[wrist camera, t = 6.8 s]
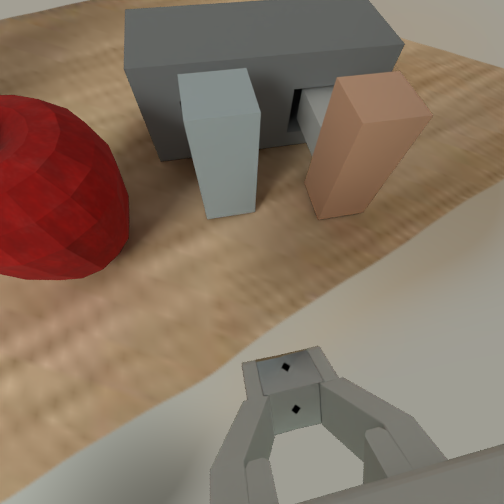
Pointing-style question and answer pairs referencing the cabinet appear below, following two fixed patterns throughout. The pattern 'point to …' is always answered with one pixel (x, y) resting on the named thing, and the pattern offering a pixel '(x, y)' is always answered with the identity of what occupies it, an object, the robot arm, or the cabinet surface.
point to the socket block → (251, 57)
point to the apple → (56, 194)
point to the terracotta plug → (357, 137)
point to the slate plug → (222, 138)
